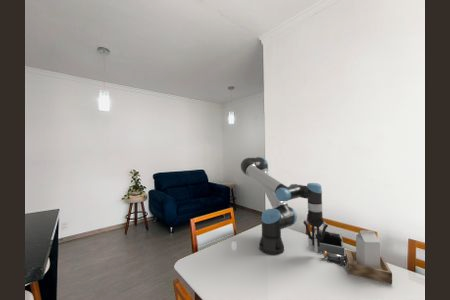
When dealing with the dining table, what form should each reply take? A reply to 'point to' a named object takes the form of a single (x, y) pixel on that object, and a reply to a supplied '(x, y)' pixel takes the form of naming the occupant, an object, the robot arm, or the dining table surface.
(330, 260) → the pin mount
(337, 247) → the valet tray
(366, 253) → the milk carton
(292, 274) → the dining table surface
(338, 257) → the lock pin
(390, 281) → the wooden tray
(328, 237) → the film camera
